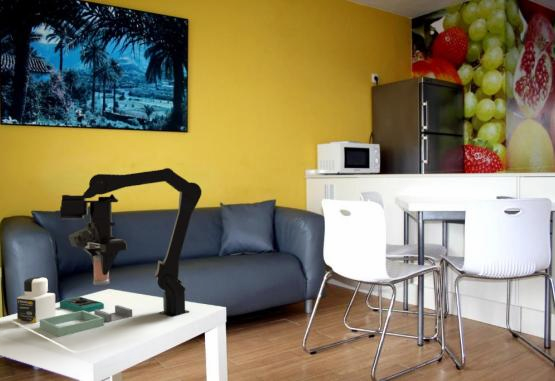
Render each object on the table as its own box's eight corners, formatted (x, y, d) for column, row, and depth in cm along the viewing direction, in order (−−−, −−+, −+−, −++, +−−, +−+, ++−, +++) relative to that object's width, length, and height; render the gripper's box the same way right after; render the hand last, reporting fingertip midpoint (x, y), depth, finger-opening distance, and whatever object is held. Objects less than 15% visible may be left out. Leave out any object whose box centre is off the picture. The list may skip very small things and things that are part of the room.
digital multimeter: (80, 304, 156) (80, 295, 156) (105, 311, 146) (104, 301, 146) (58, 309, 150) (58, 299, 150) (82, 316, 141) (82, 306, 140)
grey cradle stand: (132, 317, 137) (132, 309, 137) (108, 323, 131) (108, 315, 131) (118, 313, 142) (117, 305, 142) (94, 318, 137) (94, 310, 137)
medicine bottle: (16, 322, 134) (15, 279, 134) (37, 315, 141) (37, 275, 141) (35, 324, 132) (34, 281, 132) (56, 317, 138) (55, 276, 138)
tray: (103, 327, 128) (103, 317, 128) (58, 338, 119) (58, 328, 119) (83, 319, 136) (83, 310, 136) (39, 328, 127) (39, 319, 127)
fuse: (112, 283, 134) (111, 255, 134) (97, 285, 131) (97, 256, 131) (104, 281, 137) (104, 253, 137) (90, 283, 134) (90, 255, 134)
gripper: (58, 218, 135) (58, 273, 135) (88, 221, 122) (88, 282, 122) (96, 216, 143) (96, 268, 143) (127, 219, 130) (128, 276, 130)
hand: (101, 273), depth 134 cm, fingers closed on fuse, 4 cm apart
